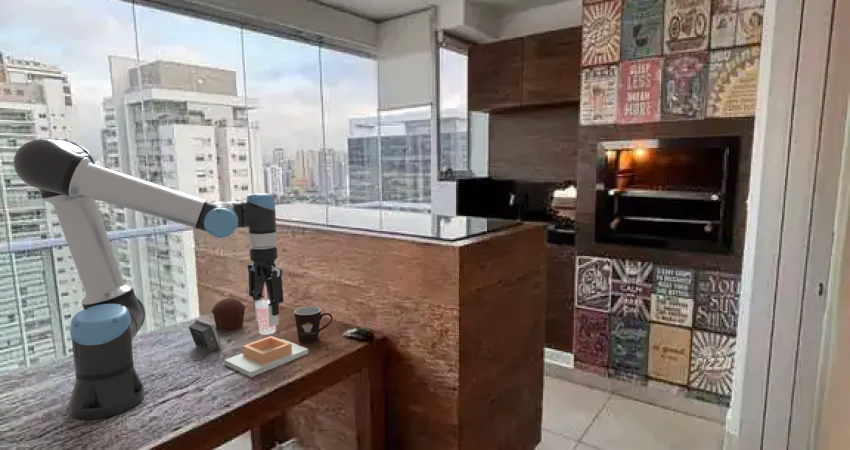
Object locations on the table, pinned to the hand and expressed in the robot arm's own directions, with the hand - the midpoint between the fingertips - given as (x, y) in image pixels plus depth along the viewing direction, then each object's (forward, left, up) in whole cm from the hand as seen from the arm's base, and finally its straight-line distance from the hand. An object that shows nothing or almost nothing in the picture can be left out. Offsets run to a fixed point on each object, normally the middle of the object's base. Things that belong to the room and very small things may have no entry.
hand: (267, 322), depth 138 cm
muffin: (+8, +34, -12) cm, 37 cm away
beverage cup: (0, 0, -3) cm, 3 cm away
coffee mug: (+18, +1, -12) cm, 21 cm away
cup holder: (0, 0, -11) cm, 11 cm away
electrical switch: (-7, +22, -12) cm, 26 cm away
